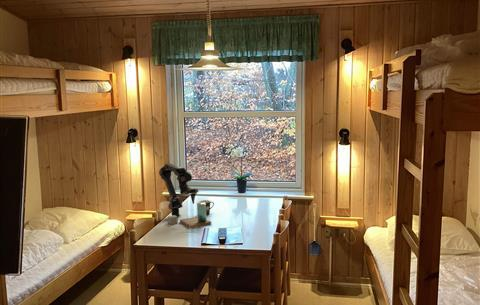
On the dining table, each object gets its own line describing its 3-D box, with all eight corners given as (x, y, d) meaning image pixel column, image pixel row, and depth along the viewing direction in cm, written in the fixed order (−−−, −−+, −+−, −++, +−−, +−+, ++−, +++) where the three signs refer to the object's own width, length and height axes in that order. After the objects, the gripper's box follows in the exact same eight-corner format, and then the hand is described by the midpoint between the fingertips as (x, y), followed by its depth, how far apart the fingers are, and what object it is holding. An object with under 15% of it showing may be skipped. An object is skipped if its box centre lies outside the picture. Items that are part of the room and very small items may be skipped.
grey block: (168, 222, 321) (168, 216, 321) (175, 221, 324) (174, 215, 323) (170, 224, 317) (170, 217, 316) (177, 223, 319) (177, 216, 319)
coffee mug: (200, 216, 336) (199, 203, 334) (198, 213, 344) (198, 200, 343) (215, 215, 338) (215, 202, 336) (214, 212, 346) (213, 199, 345)
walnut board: (180, 222, 322) (180, 219, 322) (200, 218, 330) (200, 215, 329) (189, 228, 306) (189, 225, 306) (211, 224, 314) (211, 221, 314)
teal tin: (196, 222, 313) (195, 204, 311) (200, 219, 319) (199, 202, 317) (204, 223, 311) (203, 204, 309) (208, 220, 317) (207, 202, 315)
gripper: (199, 181, 328) (203, 201, 326) (176, 187, 333) (181, 208, 331) (192, 180, 317) (197, 202, 315) (169, 187, 323) (174, 208, 320)
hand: (187, 205), depth 321 cm, fingers open, 9 cm apart
